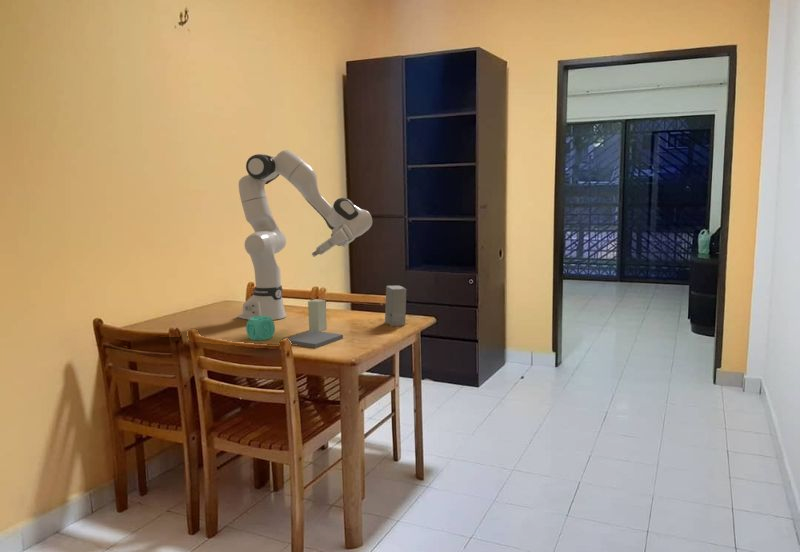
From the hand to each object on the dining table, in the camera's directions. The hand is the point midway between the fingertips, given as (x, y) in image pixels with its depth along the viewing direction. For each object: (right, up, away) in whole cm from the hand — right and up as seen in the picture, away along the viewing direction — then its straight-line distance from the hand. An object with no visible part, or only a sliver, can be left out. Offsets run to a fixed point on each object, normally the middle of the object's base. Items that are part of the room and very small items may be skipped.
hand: (316, 252), depth 252 cm
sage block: (+1, -32, -4) cm, 32 cm away
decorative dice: (-19, -34, -16) cm, 42 cm away
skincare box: (+33, -30, +3) cm, 45 cm away
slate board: (+2, -34, -22) cm, 40 cm away
